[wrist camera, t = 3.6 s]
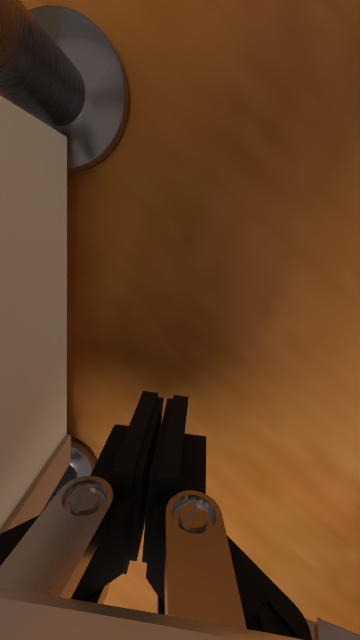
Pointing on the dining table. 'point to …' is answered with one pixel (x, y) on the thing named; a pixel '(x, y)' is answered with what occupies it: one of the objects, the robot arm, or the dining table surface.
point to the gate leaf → (32, 314)
